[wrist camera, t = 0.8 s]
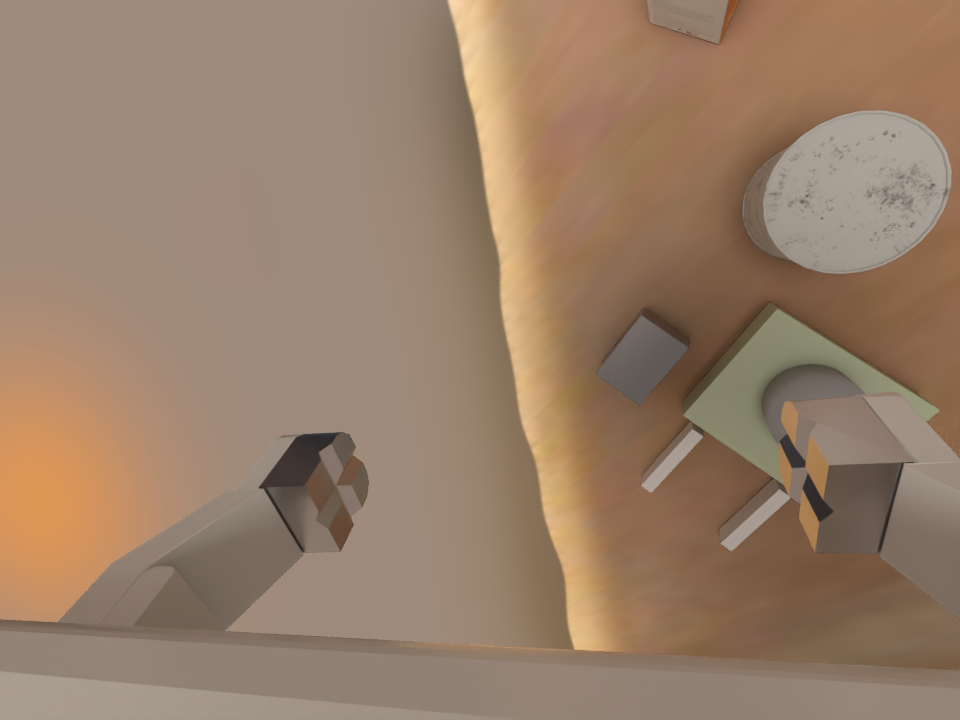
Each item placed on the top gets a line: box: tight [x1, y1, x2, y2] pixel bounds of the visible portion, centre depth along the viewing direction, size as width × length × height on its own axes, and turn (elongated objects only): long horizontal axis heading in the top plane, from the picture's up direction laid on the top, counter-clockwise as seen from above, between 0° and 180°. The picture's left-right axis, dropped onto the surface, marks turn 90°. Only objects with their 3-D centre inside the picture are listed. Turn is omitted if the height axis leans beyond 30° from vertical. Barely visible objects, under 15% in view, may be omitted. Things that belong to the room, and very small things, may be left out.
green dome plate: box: [641, 302, 940, 551], centre depth 44 cm, size 14×21×8 cm, turn 149°
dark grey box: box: [596, 308, 689, 406], centre depth 47 cm, size 5×7×4 cm
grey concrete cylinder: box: [742, 110, 951, 274], centre depth 36 cm, size 10×10×12 cm
